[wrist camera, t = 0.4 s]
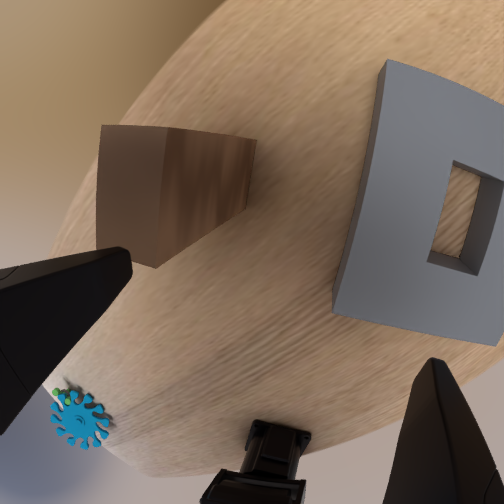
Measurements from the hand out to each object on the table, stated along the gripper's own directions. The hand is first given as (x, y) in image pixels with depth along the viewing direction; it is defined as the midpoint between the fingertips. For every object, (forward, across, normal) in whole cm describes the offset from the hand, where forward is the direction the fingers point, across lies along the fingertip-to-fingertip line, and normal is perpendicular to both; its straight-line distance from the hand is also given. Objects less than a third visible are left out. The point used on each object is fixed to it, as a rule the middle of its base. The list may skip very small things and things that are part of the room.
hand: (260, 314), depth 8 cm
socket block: (+16, -8, 0) cm, 18 cm away
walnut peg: (+13, +8, +1) cm, 15 cm away
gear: (+4, +26, +37) cm, 45 cm away
